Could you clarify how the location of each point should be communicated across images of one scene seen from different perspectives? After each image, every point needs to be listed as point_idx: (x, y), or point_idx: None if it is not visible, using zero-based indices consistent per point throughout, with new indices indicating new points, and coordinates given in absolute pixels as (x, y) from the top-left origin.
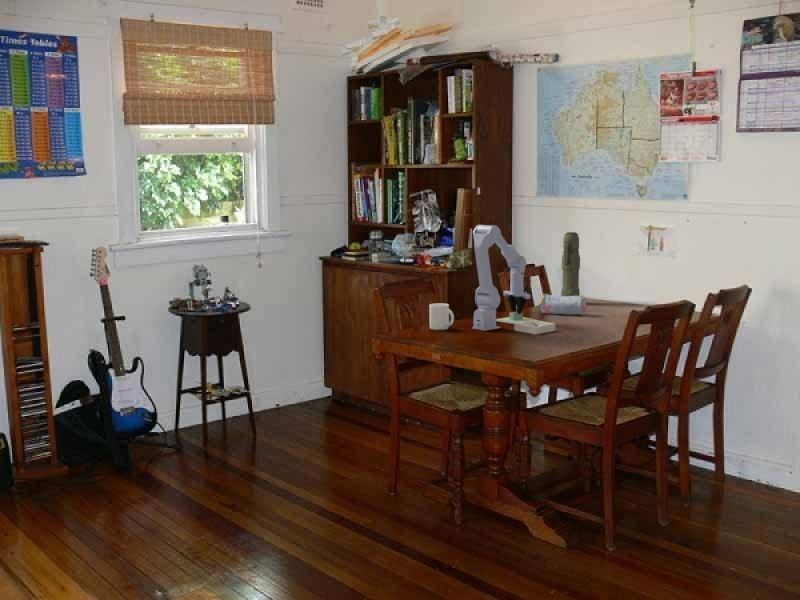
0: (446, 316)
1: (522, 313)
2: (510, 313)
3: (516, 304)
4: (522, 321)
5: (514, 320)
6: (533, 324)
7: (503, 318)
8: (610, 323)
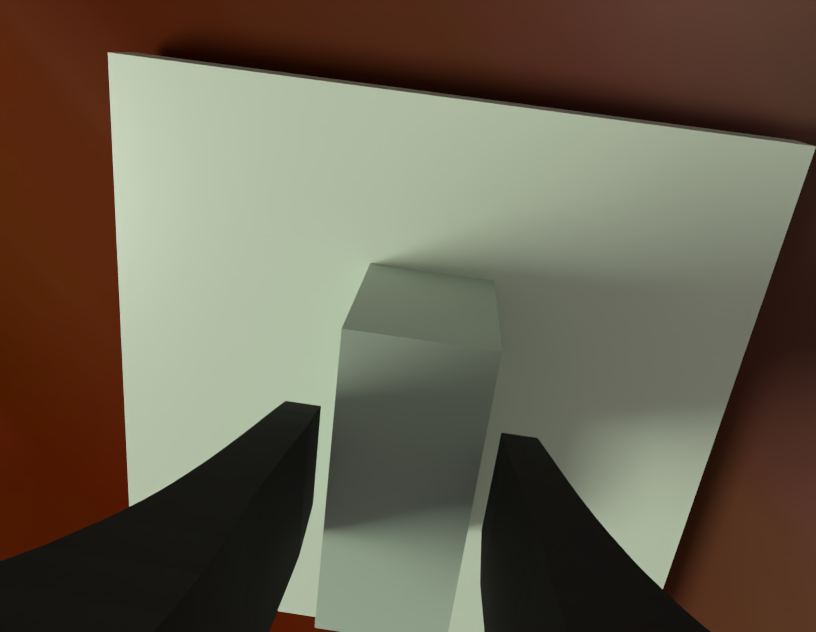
0: None
1: (496, 341)
2: (352, 620)
3: (244, 507)
4: (659, 521)
5: (469, 522)
6: None
7: (169, 472)
8: None
